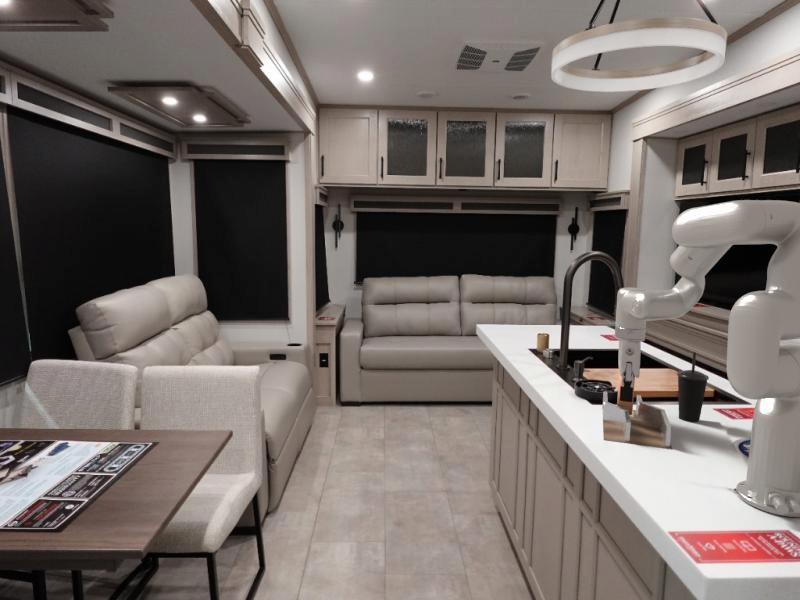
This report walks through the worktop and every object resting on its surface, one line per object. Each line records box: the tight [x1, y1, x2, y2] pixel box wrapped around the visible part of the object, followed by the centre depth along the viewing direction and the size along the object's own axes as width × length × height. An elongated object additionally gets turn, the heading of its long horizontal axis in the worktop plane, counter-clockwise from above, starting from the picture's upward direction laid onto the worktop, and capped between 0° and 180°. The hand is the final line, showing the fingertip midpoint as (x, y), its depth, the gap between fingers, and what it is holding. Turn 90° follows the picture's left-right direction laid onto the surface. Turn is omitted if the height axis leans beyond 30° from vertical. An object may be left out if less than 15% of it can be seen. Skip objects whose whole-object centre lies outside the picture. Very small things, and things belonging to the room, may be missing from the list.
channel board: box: [601, 405, 673, 450], centre depth 139 cm, size 26×16×1 cm, turn 159°
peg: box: [616, 372, 636, 415], centre depth 142 cm, size 4×4×12 cm
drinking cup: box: [676, 352, 710, 423], centre depth 143 cm, size 8×8×20 cm
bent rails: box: [602, 390, 672, 448], centre depth 139 cm, size 24×15×5 cm, turn 159°
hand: (625, 397), depth 143 cm, fingers closed on peg, 4 cm apart
